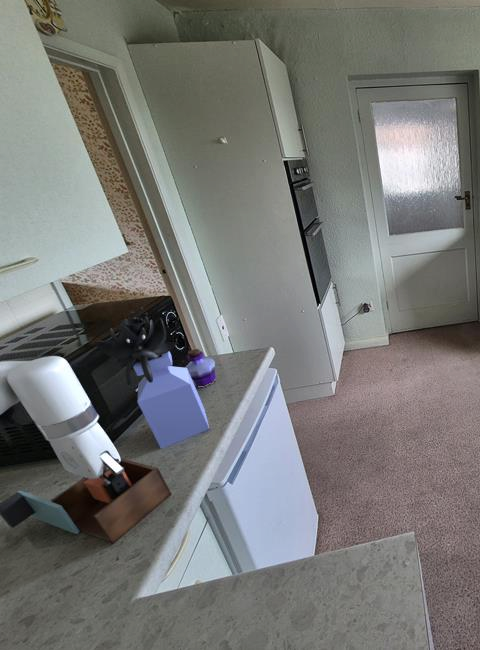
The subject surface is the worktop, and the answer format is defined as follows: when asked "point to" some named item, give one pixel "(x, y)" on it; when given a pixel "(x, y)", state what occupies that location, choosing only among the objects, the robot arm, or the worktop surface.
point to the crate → (115, 503)
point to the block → (101, 488)
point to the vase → (157, 380)
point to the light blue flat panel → (35, 511)
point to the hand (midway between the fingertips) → (112, 490)
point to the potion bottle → (200, 368)
